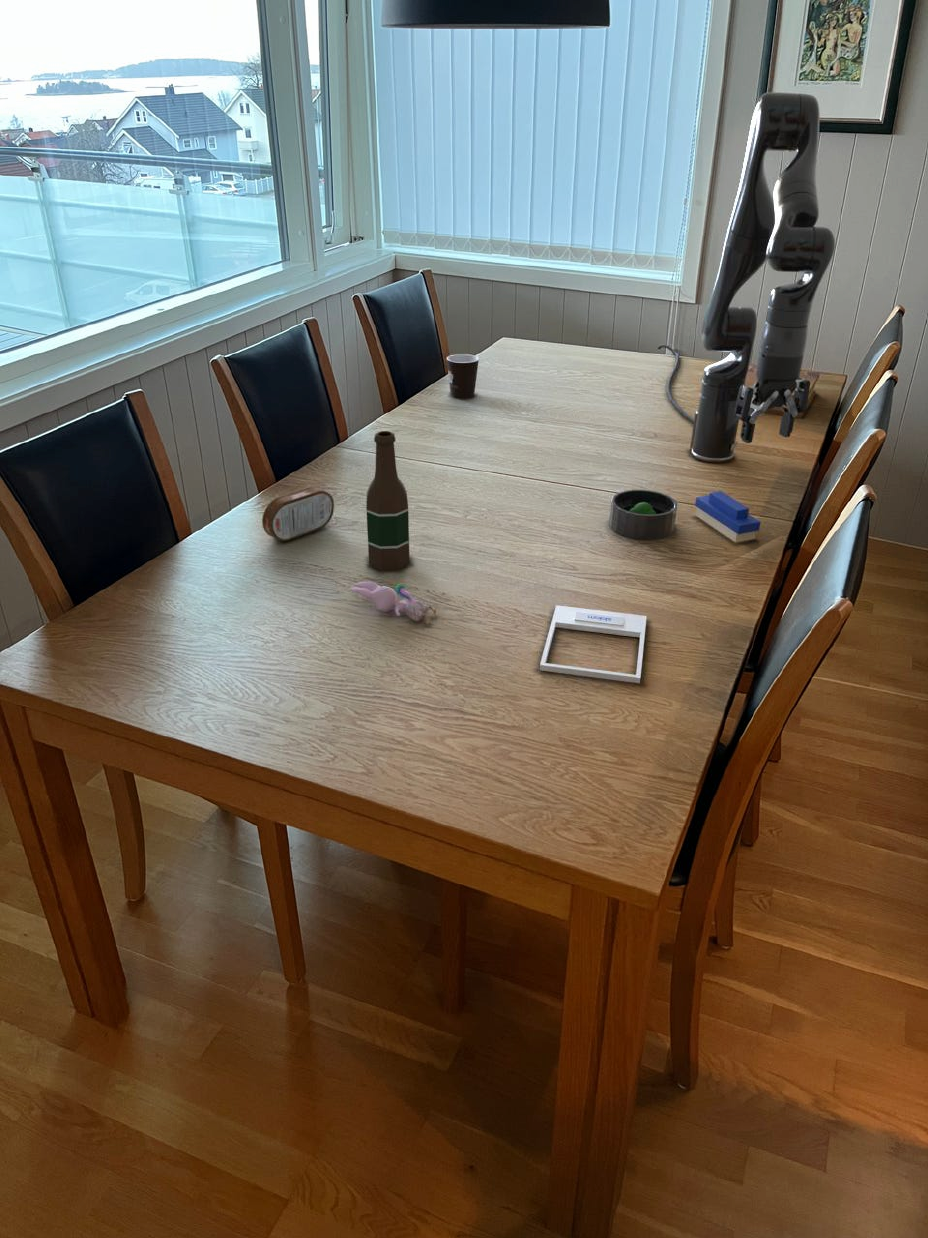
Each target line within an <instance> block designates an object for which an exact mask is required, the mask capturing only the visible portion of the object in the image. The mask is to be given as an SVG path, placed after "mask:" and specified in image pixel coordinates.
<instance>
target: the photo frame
mask: <svg viewBox="0 0 928 1238" xmlns="http://www.w3.org/2000/svg"><path fill="white" fill-rule="evenodd" d="M646 627H647V615H642V614H641V615H640V614H633V613H625V612H616V611H607V610H599V609H591V608H582V607H575V606H565V605H558V604H556V605H555V608H554V612H553V615H552V619H551V623H550V626H549V630H548V634H547V637H546V642H545V645H544V649H543V652H542V655H541V660H540V664H539V671H542V672H543V671H544V672H552V673H558V674H566V675H572V676H573V675H574V676H580V677H581V676H582V677H588V678H595V679H596V678H597V679H604V680H612V681H619V682H627V683H634V684H640V683H641V677H642V666H643V655H644V647H645V645H644V644H645V635H646ZM556 628H560V629H567V630H575V631H583V632H592V633H599V634H601V633H602V634H608V635H614V636H615V635H616V636H625V637H633V638H639V644H638V652H637V653H638V654H637V663H636V672H635V674H631V673H625V672H618V671H610V670H609V671H608V670H602V669H594V668H588V667H587V668H585V667H579V666H572V665H563V664H555V663H549V662H547V661H548V657H549V654H550V650H551V646H552V641H553V638H554V634H555V630H556Z"/></svg>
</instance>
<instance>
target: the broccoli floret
mask: <svg viewBox="0 0 928 1238" xmlns="http://www.w3.org/2000/svg"><path fill="white" fill-rule="evenodd" d="M628 512H632V513H637V514H645V515H656V514H657V513H656V512H655V511H654V510H653V508H652V506H651V505H650V504H648V503H645V502H642V503H639V504H637V505H636V506H635V507H634V508H631V509H630V510H629V511H628Z"/></svg>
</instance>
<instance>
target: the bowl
mask: <svg viewBox="0 0 928 1238" xmlns="http://www.w3.org/2000/svg"><path fill="white" fill-rule="evenodd" d="M642 502H645V503H648V504H650V505H651V506H652V508H653V510H654V511H655V512H656V513H657V514H656V515H645V514H637V513H632V512H628V511H629V510H630V509H631V508H634V507H635V506H636V505H637V504H639V503H642ZM677 512H678V502H677V501H676V499H675V498H673V497H672V496H670V495H669V494H665V493H663V492H660V491H655V490H650V489H628V490H622V491H619V492H617V493H615V494H614V495H613V496H612V498H611V501H610V509H609V519H608V526H609V528H610V529H611V530H612V531H613V532H614V533H615V534H618V535H620V536H622V537H625V538H628V539H632V540H640V541H655V540H661V539H662V540H663V539H665V538H667V537H669V536H671V535H672V534H673V533H674V532H675V526H676V519H677Z"/></svg>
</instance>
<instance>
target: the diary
mask: <svg viewBox="0 0 928 1238" xmlns="http://www.w3.org/2000/svg"><path fill="white" fill-rule="evenodd" d="M756 366H757V364H752V366H749V369H748V373H747V376H746V381H745V385H746V386H754V385H755V383H756V381H757V376H756ZM820 374H821V373H819V372H811V371H804V370H801V371H800V376H799V377H800V378H803V379H805V380H808V381H810V389H809V395H808V401H807V408H806V410H808V408H809V406H810V404H811V403H812V401H813V399H814V397H815V395H816V394H817V390H816V389H815V387H816V382H817V381H818V380H819V378H820ZM754 395H755V394H754ZM791 396H792V398H793V397H794V392H793V393H792V395H791ZM800 402H801V400H800ZM799 404H800V403H799ZM756 405H757V406H760V404H759V403H757V404H756ZM742 409H743V408H742ZM764 413H766V414H772V415H781V416H782V415H785V413H784V412H783V410H782V408H781V407H774V408H771V409H766V411H765V412H764ZM805 413H806V411H805V412H804V413H799V414H798V415H797V416H796V417H795V418H803V416H804V414H805Z"/></svg>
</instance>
